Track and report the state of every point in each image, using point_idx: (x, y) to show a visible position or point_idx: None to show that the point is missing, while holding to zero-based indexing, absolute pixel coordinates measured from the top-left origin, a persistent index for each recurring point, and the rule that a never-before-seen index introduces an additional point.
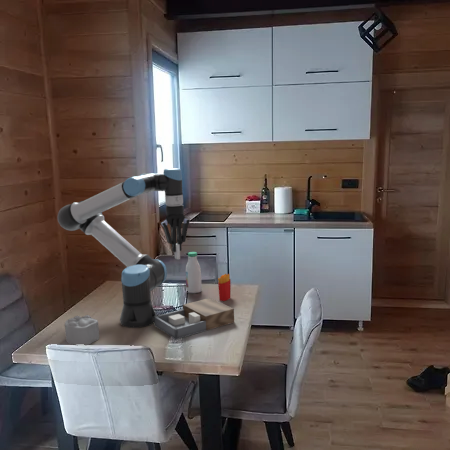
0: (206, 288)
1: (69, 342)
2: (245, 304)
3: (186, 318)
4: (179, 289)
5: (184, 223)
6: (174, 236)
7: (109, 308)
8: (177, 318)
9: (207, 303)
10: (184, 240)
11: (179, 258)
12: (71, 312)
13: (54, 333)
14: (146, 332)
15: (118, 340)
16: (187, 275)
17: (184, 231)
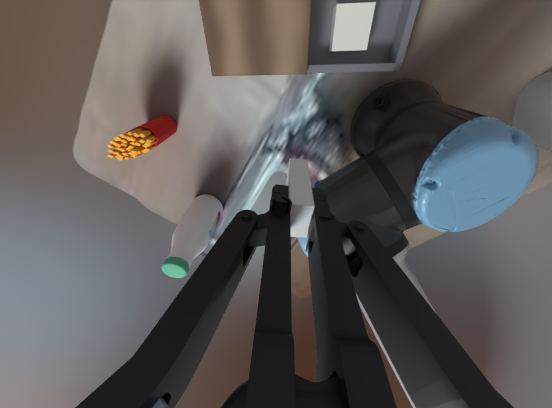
0: (181, 204)
1: None
2: (120, 51)
3: (310, 43)
4: None
5: (167, 400)
6: (333, 260)
7: None
8: (360, 8)
9: (240, 26)
10: (244, 215)
11: (293, 159)
12: (429, 237)
13: (536, 171)
14: (437, 33)
15: (525, 28)
16: (211, 228)
17: (220, 281)
